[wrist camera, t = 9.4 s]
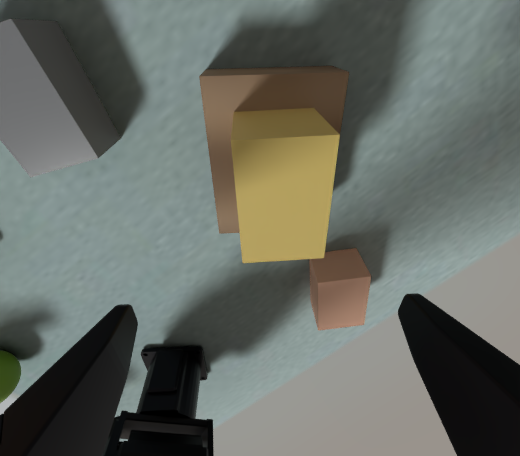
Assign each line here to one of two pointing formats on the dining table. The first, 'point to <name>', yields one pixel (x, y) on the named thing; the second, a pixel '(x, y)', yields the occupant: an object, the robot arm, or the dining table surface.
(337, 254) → the terracotta brick
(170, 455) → the robot arm
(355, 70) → the dining table surface
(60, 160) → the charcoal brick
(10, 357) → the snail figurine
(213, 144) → the walnut block
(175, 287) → the dining table surface
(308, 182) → the mustard brick
